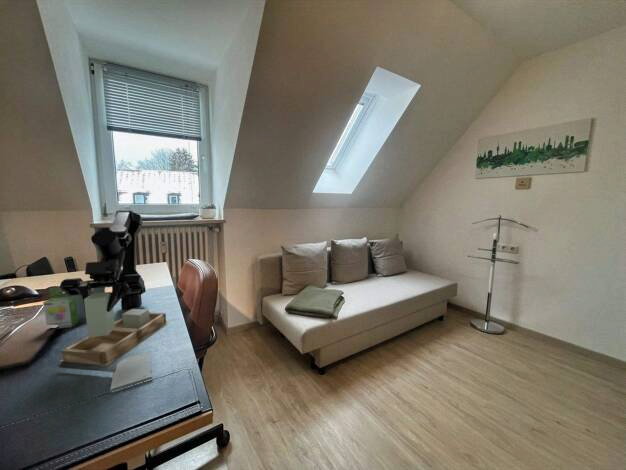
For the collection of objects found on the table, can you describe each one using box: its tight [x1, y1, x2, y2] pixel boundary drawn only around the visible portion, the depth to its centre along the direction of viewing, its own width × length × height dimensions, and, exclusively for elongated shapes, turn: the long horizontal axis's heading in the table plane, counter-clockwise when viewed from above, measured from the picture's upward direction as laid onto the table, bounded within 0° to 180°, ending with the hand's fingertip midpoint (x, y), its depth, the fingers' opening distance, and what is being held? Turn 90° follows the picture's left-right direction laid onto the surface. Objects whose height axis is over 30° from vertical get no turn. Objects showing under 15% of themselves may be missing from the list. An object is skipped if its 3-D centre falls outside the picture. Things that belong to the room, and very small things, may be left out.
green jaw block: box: [84, 291, 115, 338], centre depth 71 cm, size 4×4×11 cm
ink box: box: [42, 287, 79, 329], centre depth 86 cm, size 7×4×13 cm, turn 105°
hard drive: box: [109, 351, 153, 393], centre depth 65 cm, size 2×8×12 cm
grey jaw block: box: [122, 308, 150, 329], centre depth 83 cm, size 4×6×6 cm, turn 84°
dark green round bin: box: [75, 279, 106, 319], centre depth 96 cm, size 10×10×12 cm
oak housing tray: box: [59, 311, 169, 366], centre depth 78 cm, size 24×14×4 cm, turn 174°
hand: (97, 312), depth 69 cm, fingers closed on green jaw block, 4 cm apart
